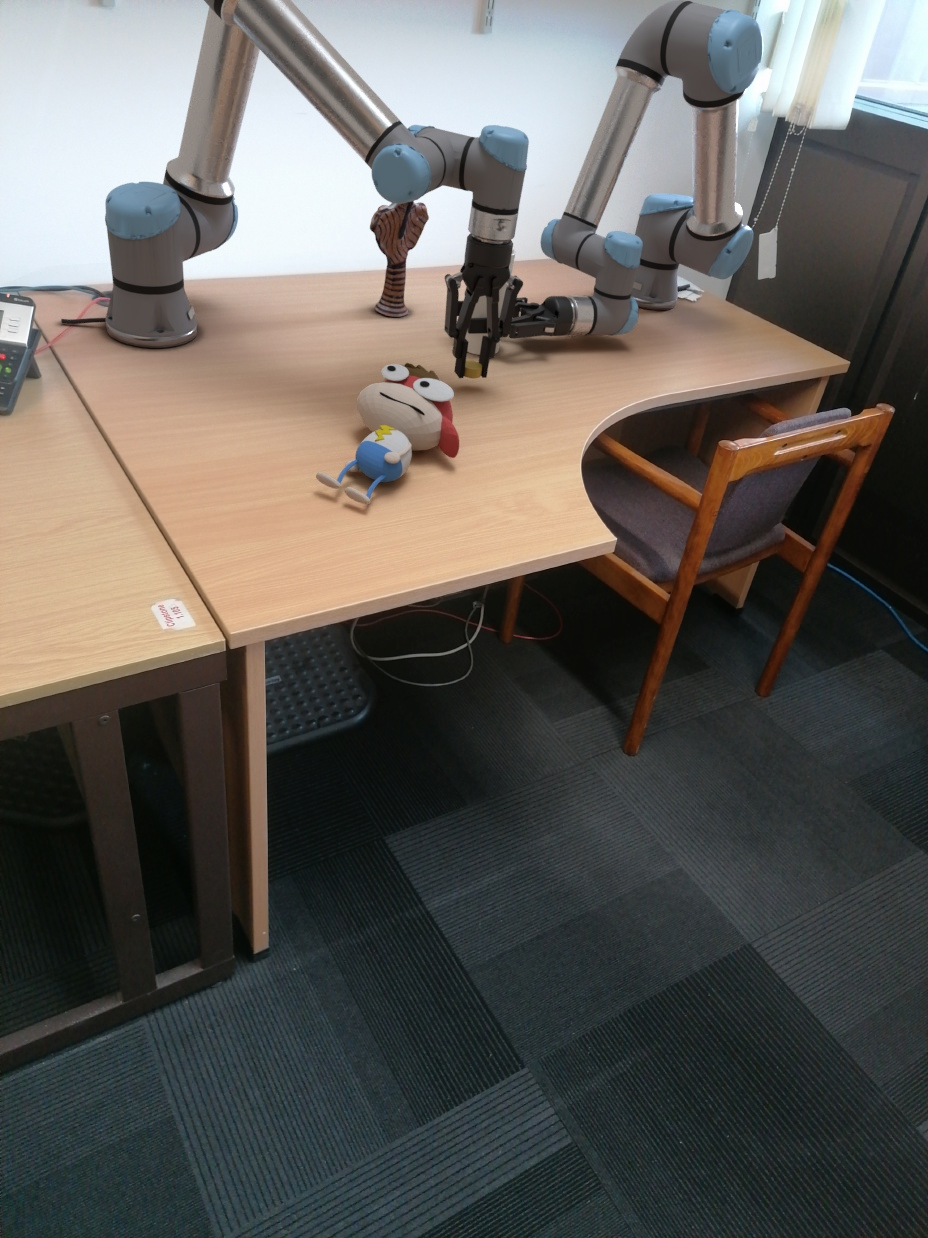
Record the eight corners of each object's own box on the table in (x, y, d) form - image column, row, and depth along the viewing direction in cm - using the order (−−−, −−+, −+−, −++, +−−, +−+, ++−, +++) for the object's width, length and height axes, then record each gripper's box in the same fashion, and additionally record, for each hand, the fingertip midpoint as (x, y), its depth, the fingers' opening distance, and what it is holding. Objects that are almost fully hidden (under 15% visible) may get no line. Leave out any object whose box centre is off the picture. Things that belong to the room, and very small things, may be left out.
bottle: (503, 355, 172) (526, 225, 157) (466, 355, 170) (486, 223, 155) (491, 339, 178) (512, 212, 163) (454, 338, 175) (472, 209, 160)
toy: (278, 428, 121) (396, 343, 140) (277, 485, 128) (389, 398, 148) (391, 486, 117) (497, 391, 136) (384, 542, 124) (485, 444, 143)
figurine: (401, 297, 189) (416, 141, 170) (429, 309, 186) (448, 152, 167) (355, 312, 178) (365, 148, 160) (384, 324, 175) (398, 159, 157)
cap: (482, 371, 158) (484, 362, 157) (479, 380, 155) (480, 370, 154) (462, 367, 158) (463, 358, 157) (458, 375, 155) (459, 366, 154)
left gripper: (449, 242, 137) (432, 384, 151) (547, 245, 142) (521, 382, 157) (434, 227, 142) (419, 366, 156) (529, 231, 148) (506, 364, 162)
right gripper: (585, 355, 172) (479, 358, 164) (539, 314, 186) (438, 315, 178) (594, 317, 168) (485, 318, 159) (546, 278, 182) (443, 277, 173)
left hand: (470, 374), depth 157 cm, fingers closed on cap, 4 cm apart
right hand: (461, 316), depth 168 cm, fingers closed on bottle, 8 cm apart
